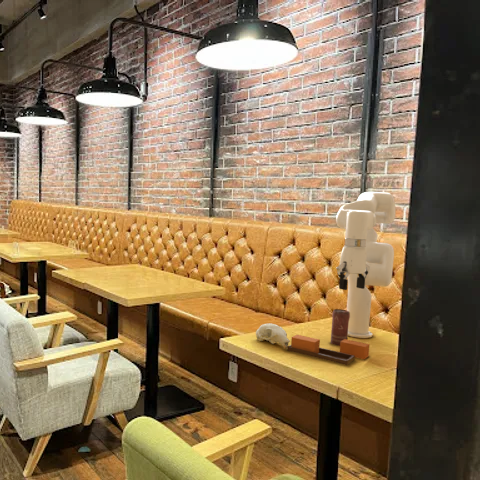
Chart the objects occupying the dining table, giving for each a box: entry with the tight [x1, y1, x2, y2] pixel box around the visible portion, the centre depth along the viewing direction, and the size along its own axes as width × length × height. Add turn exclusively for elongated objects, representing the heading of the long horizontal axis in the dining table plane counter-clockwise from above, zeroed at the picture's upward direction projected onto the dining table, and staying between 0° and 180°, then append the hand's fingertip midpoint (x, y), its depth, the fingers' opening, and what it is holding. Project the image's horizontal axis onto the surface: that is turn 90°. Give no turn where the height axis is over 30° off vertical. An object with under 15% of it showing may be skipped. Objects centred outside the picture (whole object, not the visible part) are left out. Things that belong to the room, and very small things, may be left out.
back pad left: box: [290, 334, 321, 353], centre depth 182 cm, size 5×9×5 cm, turn 51°
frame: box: [286, 344, 356, 366], centre depth 179 cm, size 8×22×2 cm, turn 51°
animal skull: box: [255, 322, 291, 350], centre depth 190 cm, size 10×16×10 cm, turn 16°
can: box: [330, 308, 350, 347], centre depth 193 cm, size 6×6×14 cm
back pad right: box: [339, 338, 370, 360], centre depth 180 cm, size 5×9×5 cm, turn 51°
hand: (351, 288), depth 183 cm, fingers open, 9 cm apart
